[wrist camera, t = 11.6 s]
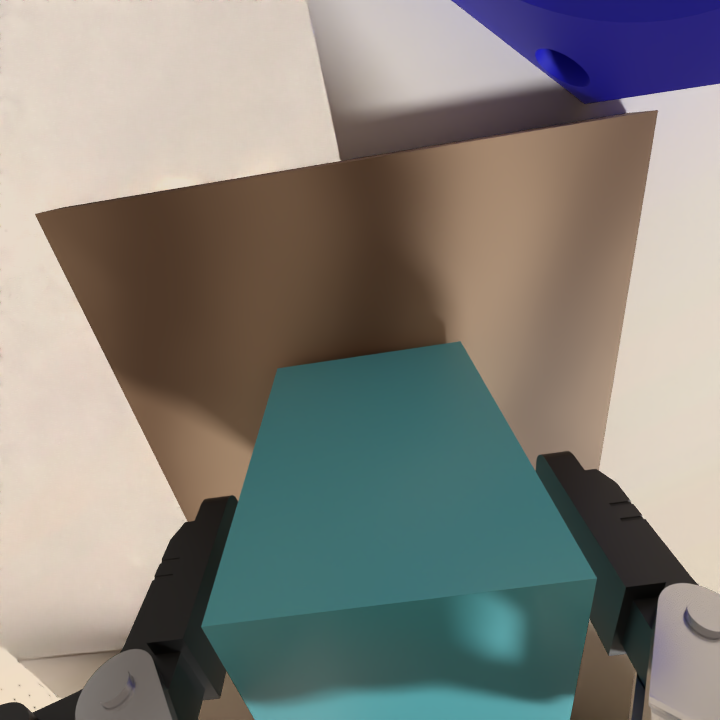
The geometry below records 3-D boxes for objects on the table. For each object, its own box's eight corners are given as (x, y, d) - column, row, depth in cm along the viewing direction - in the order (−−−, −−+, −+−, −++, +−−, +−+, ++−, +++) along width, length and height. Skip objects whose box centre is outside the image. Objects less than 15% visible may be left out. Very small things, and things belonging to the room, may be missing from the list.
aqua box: (460, 341, 12) (597, 578, 6) (466, 479, 15) (563, 752, 8) (277, 368, 13) (200, 626, 6) (314, 499, 15) (290, 781, 9)
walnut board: (628, 112, 11) (658, 110, 10) (573, 520, 19) (586, 543, 18) (62, 207, 12) (34, 214, 11) (227, 564, 19) (221, 588, 18)
